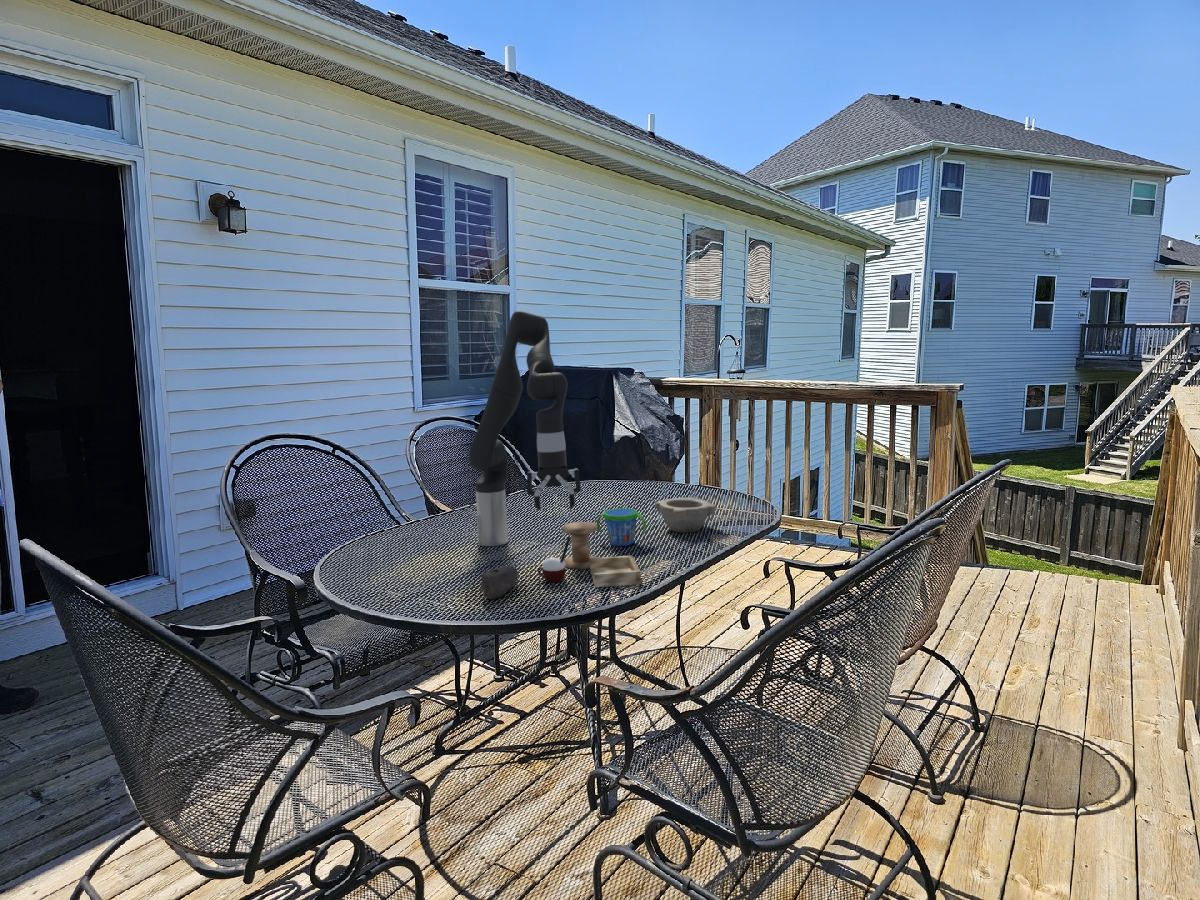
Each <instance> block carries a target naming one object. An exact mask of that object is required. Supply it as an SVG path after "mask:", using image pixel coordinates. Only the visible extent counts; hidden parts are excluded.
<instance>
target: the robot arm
mask: <svg viewBox="0 0 1200 900" xmlns="http://www.w3.org/2000/svg"><path fill="white" fill-rule="evenodd" d="M549 328H550V327H549V324H548V321H547V319H546V318H545V317H544V316H541V315H538V314H535V313H530V312H527V311H524V310H520V309H519V310H515V311H514V312H513V313H512V315H511V316H510V319H509V322H508V325H507V330H506V333H505V338H504V339H505V340H504V343H503V346H502V351H501V355H500V359H499V362H498V366H497V368H496V372H495V374H494V377H493V380H492V382H491V383H492V384H491V387H490V390H489V393H488V397H487V401H486V404H485V407H484V410H483V414H482V417H481V420H480V423H479V426H478V427H477V429H476V432H475V435H474V437H473V440H472V442H471V445H470V447H469V451H468V461H469V464H470V466H471V467H472V468H473V470H475V471H479V472H482V473H481V475H480V477H479V478H478V479H477V480H476V482H475V499H476V513H477V515H476V523H477V524H476V525H477V542H478V546H479V547H480V546H481V547H482V546H483V547H497V546H502V545H505V544H508V542H509V534H508V533H509V532H508V516H507V514H508V513H507V500H506V483H507V479H508V455H507V454H508V453H507V449H506V446H505V445H504V443H503V442H502V441H501V440H500V439H499V435H500V434H501V432H502V430H503V428H504V427H505V426H506V424H507V423H508V422H509V420H510V419H511V417H513V415H514V413H515V412H516V409H517V407H518V405H519V402H520V399H521V396H522V393H523V389H524V387H523V386H524V385H523V381H522V377H521V373H520V370H519V367H518V363H517V357H516V353H517V352H516V349H517V345H518V343H519V344H521V345H526V346H529V347H531V348H530V350H529V351H528V354H527V355H526V366H527V369H528V373H529V375H528V379H527V385H526V390H527V394H528V396H529V397H530V399H532V400H534V401H538V402H539V401H553V400H554V401H553V403H552V405H550V406H549V407H546V408H543V409H540V410H538V411H537V412H536V414H535V423H536V424H535V425H536V450H537V451H536V452H537V465H538V470H537V471H530V470H529V471H527V473H526V492H527V493H526V494H527V495H528V496H533V498H534V507H535V509H537V511H541V508H542V507H541V496H540V494H541V492H542V491H543V490H544V488H545V487H547V488H552V487H557V488H558V487H561V486H563V488H564V489H565V490H566V491H567V492H568V501H569V509H573V507H575V505H576V502H575V501H576V500H575V494H576V493H580V492H581V491H582V489H581V487H582V486H581V479H580V471H579V468H578V467H577V468H576V467H575V468H573V469H568V466H567V451H566V450H567V448H566V447H567V445H566V438H565V431H564V430H565V429H564V417H563V416H564V408H565V407H564V406H565V400H566V396H567V394H568V393H567V392H568V385H569V383H568V379H567V377H566V376H565V374H564V373H562V372H556V367H555V363H554V361H553V357H552V355H551V342H550V341H551V340H550V339H551V338H550V330H549ZM569 475H571V478H574V481H575V486H574V487H572V485H571V484H570V483H569V482H568V481H567V478H568V476H569ZM536 477H537V478H538V479H539V480H540V482H539V484H538V486H537V487H536V489H533V481H534V480H535V479H536Z"/></svg>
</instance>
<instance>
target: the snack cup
mask: <svg viewBox="0 0 1200 900" xmlns="http://www.w3.org/2000/svg"><path fill="white" fill-rule="evenodd" d="M602 517H603V518H604V521H605V525H606V530H607V536H608V541H609V543H610V544H611V545H612V546H614V547H627V546H630V545H632V544H634V542H635V536H636V535H635V534H636V527H637V526H636V525H637V518H638V519H640V521H641V523H642V525H643V526H642V534H643V535H645V534H646V531H647V522H646V520H645V518H644V516H643V515H642V514H640V513H639V512H638V511H637V510H636V509H634V508H628V507H626V508H624V507H621V508H620V507H619V508H610V509H607V510H605V511H604V512H603V513H601V514H600V515H599V516H598V518H597V519H596V524H597V533H600V532H601V526H600V520H601V519H602Z"/></svg>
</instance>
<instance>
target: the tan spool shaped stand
mask: <svg viewBox="0 0 1200 900" xmlns="http://www.w3.org/2000/svg"><path fill="white" fill-rule="evenodd" d="M561 527H562V528H561V531H562V533H564V534H566V535H570V537H571V539H570V540H571V556H569V557H565V558H564V562H565V564H566V565H565V567H566V568H567V569H572V570H587V569H589V570H590V558H598V557H597V556H593V555H591V553H590V534H592V533H595V532H596V531H597V523H594V522H590V521H578V522H577V521H575V522H569V523H565V524H564V525H562V526H561Z"/></svg>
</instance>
